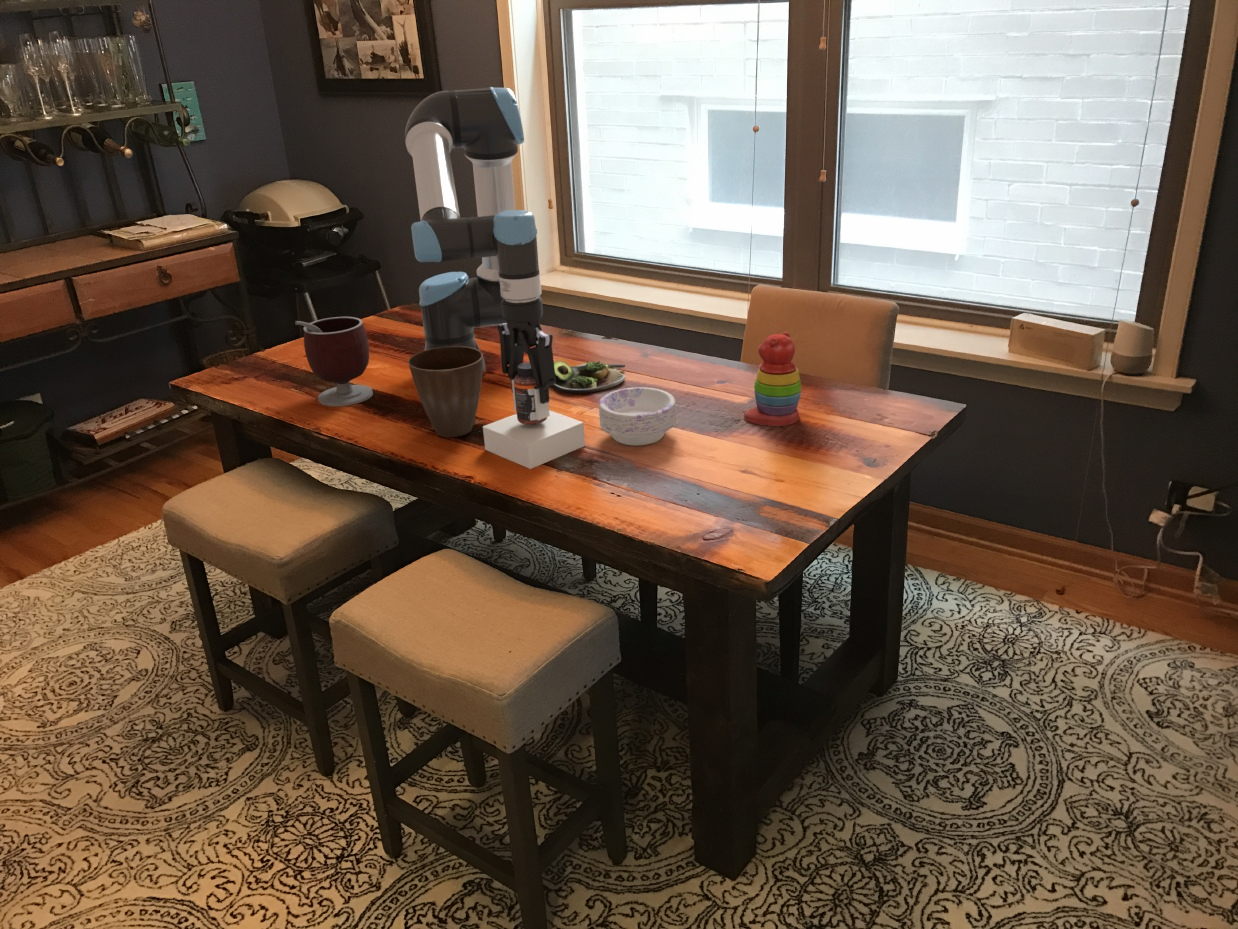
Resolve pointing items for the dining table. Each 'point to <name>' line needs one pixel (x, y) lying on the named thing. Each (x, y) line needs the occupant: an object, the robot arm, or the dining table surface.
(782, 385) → the stacking bear
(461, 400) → the plant pot
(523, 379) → the supplement bottle
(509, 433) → the white flat block
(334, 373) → the mate gourd
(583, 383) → the salad plate
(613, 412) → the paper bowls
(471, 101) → the robot arm
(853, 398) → the dining table surface
